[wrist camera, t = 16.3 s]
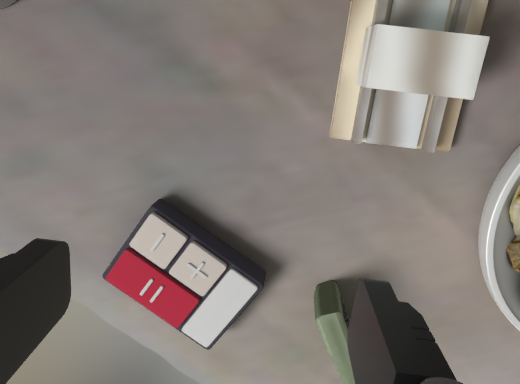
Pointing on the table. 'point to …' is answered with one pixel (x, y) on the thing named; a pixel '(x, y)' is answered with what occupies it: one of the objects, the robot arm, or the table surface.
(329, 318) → the handheld radio
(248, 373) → the table surface
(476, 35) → the rail board
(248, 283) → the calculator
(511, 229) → the bowl
